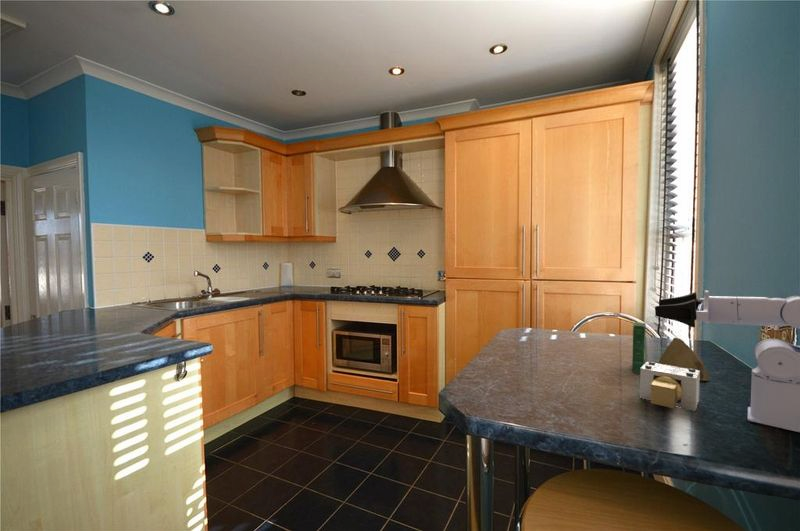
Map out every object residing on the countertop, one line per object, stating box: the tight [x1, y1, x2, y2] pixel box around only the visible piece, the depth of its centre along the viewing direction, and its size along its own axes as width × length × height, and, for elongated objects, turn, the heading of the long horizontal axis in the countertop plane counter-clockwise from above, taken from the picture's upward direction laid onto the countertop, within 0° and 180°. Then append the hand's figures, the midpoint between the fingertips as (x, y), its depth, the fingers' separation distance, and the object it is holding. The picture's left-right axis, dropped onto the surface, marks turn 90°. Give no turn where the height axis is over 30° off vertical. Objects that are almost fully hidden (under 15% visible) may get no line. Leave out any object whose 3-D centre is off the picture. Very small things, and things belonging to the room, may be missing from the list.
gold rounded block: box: [650, 376, 683, 409], centre depth 82 cm, size 12×6×6 cm, turn 137°
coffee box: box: [631, 321, 647, 374], centre depth 107 cm, size 8×3×13 cm, turn 144°
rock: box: [658, 337, 710, 382], centre depth 100 cm, size 11×9×10 cm
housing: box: [639, 361, 701, 412], centre depth 84 cm, size 10×7×7 cm
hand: (657, 307), depth 86 cm, fingers open, 7 cm apart
